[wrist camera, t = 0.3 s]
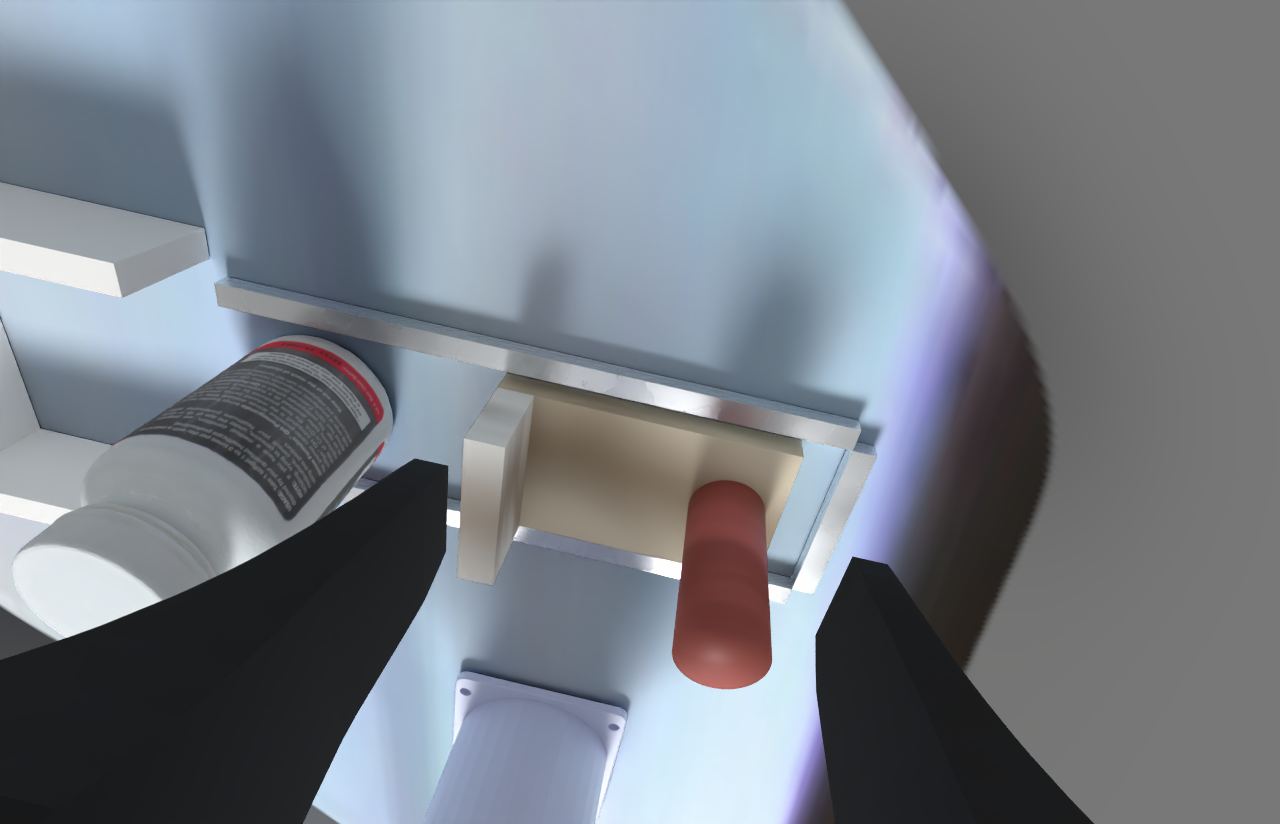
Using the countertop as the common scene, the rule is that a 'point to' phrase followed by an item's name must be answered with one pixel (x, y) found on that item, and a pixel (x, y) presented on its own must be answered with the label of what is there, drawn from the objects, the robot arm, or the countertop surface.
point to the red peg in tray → (637, 506)
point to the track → (601, 381)
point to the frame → (88, 259)
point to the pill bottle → (209, 483)
